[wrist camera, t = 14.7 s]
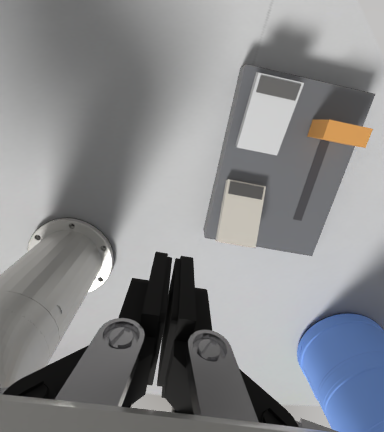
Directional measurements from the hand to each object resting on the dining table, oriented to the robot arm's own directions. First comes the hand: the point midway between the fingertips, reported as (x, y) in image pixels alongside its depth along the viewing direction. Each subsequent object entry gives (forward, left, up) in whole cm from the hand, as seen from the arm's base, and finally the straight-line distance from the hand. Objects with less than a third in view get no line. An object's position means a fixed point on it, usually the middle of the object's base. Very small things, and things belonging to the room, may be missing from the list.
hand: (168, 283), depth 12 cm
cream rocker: (-3, -8, -22) cm, 24 cm away
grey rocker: (+9, -8, -22) cm, 25 cm away
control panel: (+3, -13, -27) cm, 30 cm away
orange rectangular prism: (+9, -17, -24) cm, 31 cm away
